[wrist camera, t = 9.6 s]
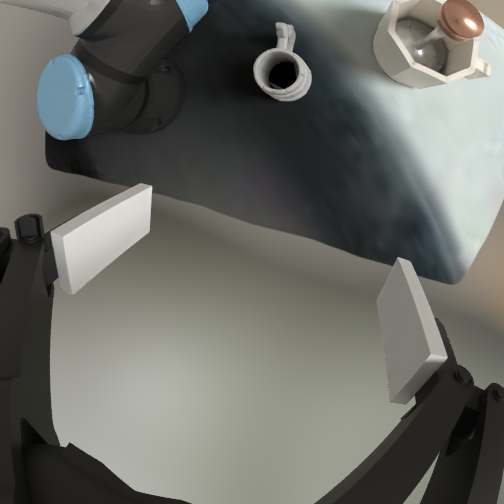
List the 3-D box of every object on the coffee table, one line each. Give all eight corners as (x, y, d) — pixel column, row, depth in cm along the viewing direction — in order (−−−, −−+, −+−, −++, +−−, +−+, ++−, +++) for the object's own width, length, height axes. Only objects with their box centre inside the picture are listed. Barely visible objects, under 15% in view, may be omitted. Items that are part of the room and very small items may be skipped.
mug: (260, 98, 42) (240, 94, 32) (268, 32, 37) (250, 9, 26) (308, 105, 41) (303, 101, 31) (317, 37, 35) (313, 14, 25)
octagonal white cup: (366, 71, 36) (380, 56, 25) (379, 8, 30) (394, -22, 19) (454, 108, 34) (491, 110, 23) (465, 46, 28) (501, 33, 17)
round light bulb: (382, 62, 32) (417, 32, 17) (391, 12, 27) (424, -37, 12) (438, 85, 31) (498, 76, 15) (446, 36, 26) (503, 7, 11)
